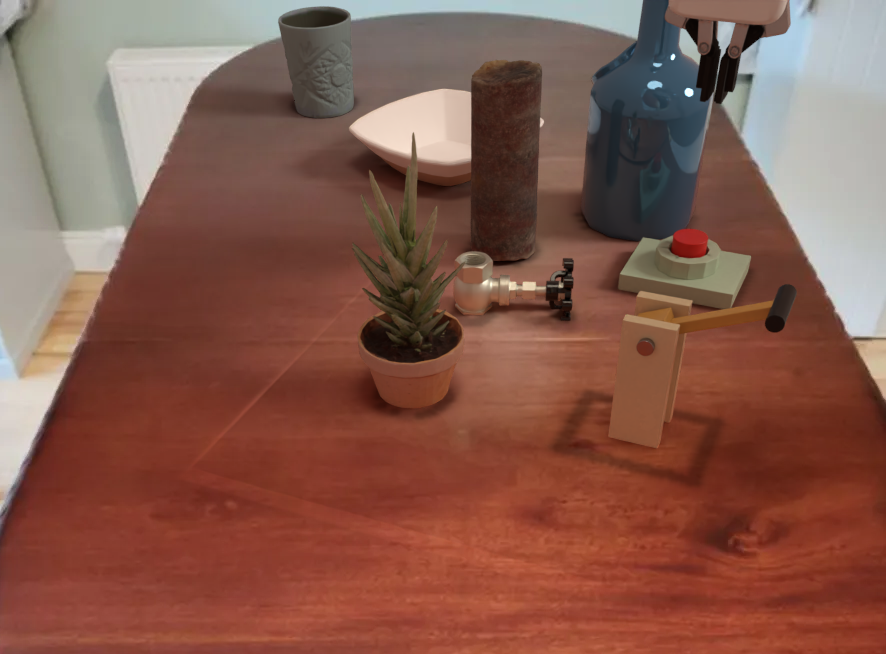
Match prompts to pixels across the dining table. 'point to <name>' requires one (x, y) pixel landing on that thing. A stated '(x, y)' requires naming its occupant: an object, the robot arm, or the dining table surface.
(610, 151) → the wine bottle
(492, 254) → the brown textured cylinder
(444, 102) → the bowl
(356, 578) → the dining table surface
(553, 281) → the valve
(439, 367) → the potted plant
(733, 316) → the lever
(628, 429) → the bracket
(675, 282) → the button block
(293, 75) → the grey embossed cup
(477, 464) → the dining table surface
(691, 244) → the button
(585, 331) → the dining table surface
